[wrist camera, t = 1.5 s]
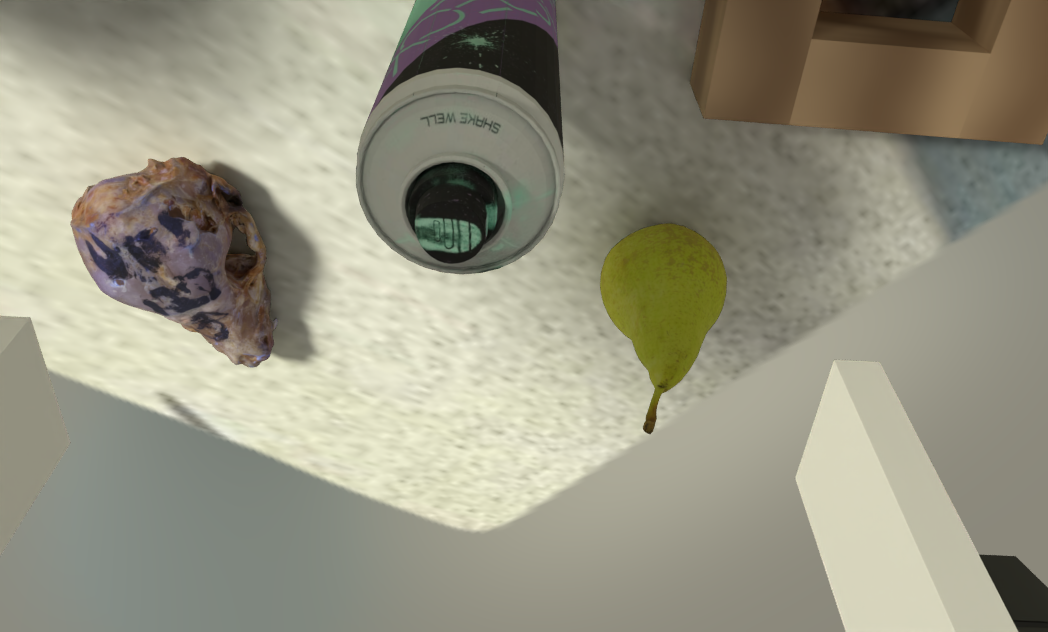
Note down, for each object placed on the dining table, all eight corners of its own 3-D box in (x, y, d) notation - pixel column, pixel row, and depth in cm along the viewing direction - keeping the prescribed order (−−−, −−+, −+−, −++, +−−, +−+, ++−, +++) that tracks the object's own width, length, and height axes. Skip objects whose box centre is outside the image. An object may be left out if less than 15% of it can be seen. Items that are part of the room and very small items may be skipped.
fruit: (730, 210, 43) (787, 364, 33) (689, 307, 46) (729, 473, 36) (616, 184, 42) (639, 333, 32) (582, 284, 45) (594, 448, 36)
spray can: (579, 18, 38) (610, 267, 21) (472, 83, 39) (424, 362, 23) (509, -102, 35) (483, 77, 19) (398, -26, 37) (284, 200, 20)
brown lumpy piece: (315, 329, 47) (288, 404, 42) (183, 353, 48) (141, 429, 43) (222, 122, 41) (178, 182, 36) (72, 155, 42) (7, 219, 37)
